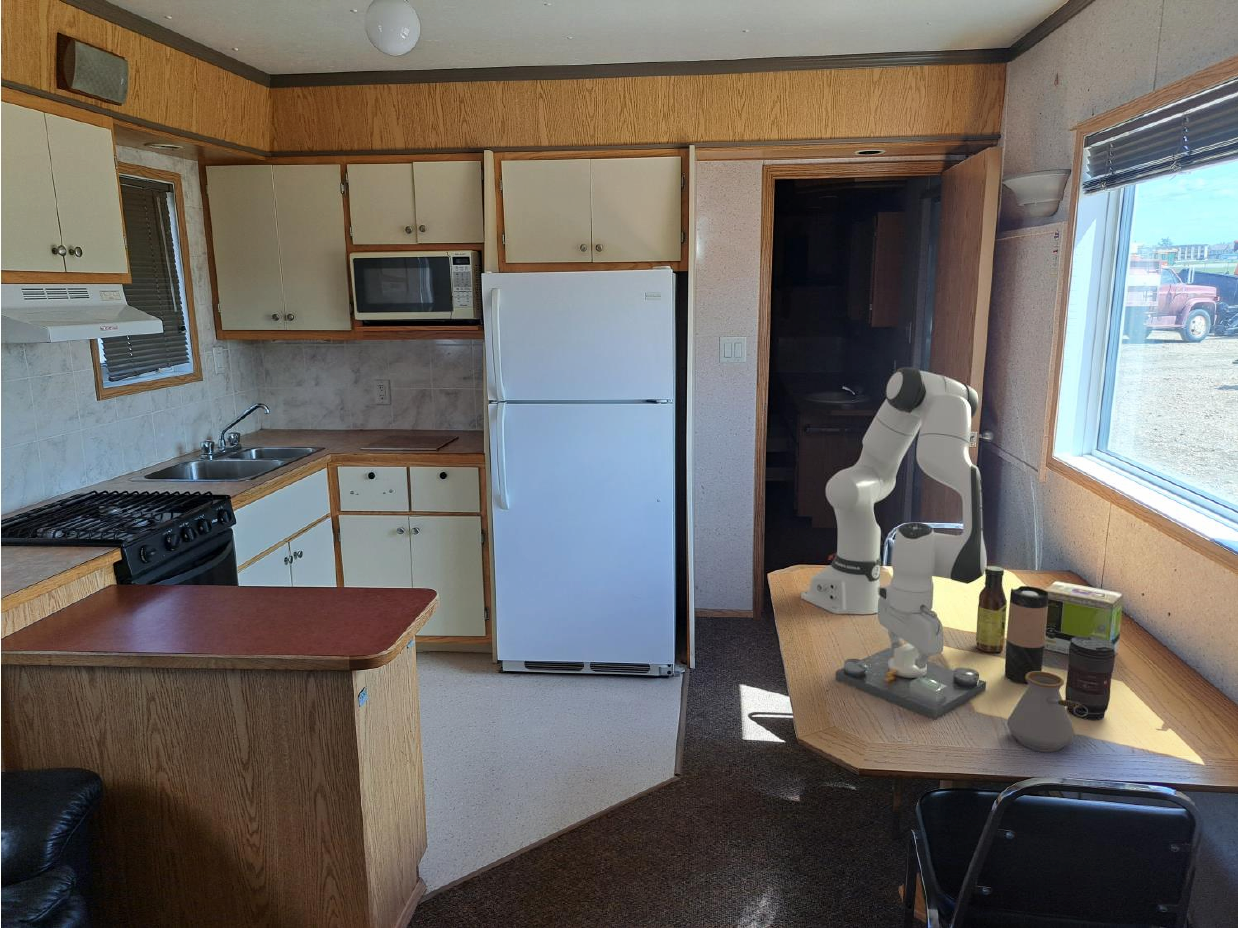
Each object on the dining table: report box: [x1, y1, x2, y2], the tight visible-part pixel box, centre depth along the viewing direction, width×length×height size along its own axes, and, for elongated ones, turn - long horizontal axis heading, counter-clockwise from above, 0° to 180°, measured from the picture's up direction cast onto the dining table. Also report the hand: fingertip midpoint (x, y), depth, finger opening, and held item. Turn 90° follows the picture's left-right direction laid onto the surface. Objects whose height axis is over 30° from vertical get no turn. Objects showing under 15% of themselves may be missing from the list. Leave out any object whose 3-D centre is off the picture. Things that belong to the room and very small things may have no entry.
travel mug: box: [1004, 585, 1049, 686], centre depth 190 cm, size 8×8×20 cm
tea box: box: [1044, 580, 1124, 655], centre depth 205 cm, size 15×10×15 cm, turn 48°
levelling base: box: [834, 647, 987, 720], centre depth 188 cm, size 24×20×6 cm
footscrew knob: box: [887, 642, 927, 678], centre depth 190 cm, size 11×8×6 cm
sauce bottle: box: [975, 565, 1008, 653], centre depth 206 cm, size 6×6×20 cm
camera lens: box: [1064, 636, 1116, 721], centre depth 175 cm, size 8×8×15 cm
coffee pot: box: [1006, 671, 1088, 753], centre depth 159 cm, size 21×12×15 cm, turn 175°
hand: (907, 658), depth 191 cm, fingers open, 8 cm apart
